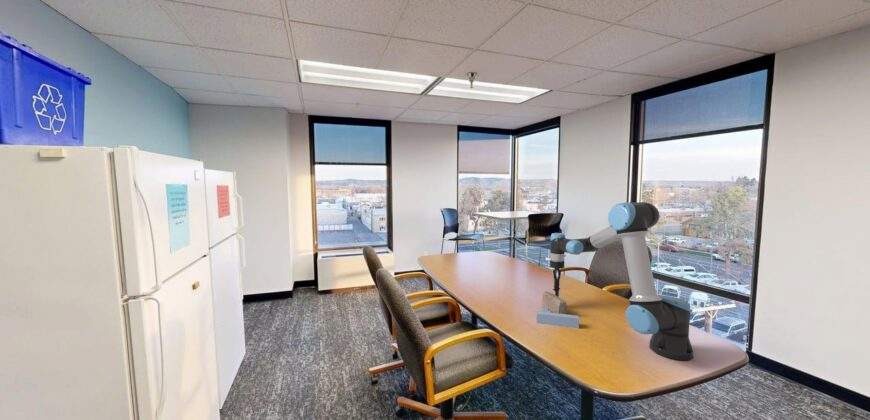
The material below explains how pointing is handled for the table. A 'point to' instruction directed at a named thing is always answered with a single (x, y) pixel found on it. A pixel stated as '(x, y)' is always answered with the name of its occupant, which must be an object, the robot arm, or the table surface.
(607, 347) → the table surface
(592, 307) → the table surface
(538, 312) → the board
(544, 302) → the brick
